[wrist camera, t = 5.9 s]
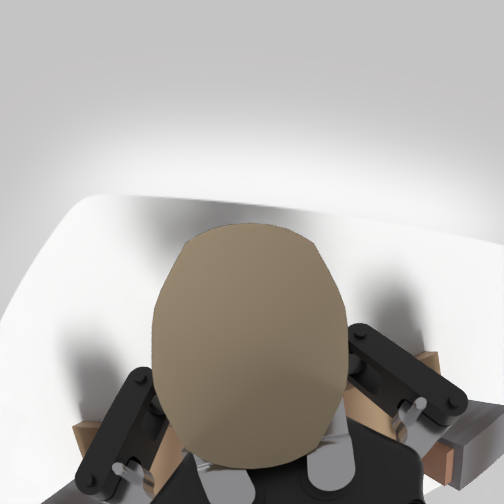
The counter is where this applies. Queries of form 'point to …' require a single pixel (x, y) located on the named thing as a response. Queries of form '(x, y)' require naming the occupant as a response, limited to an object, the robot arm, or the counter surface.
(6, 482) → the counter surface
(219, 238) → the handle
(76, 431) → the brown and grey holder
